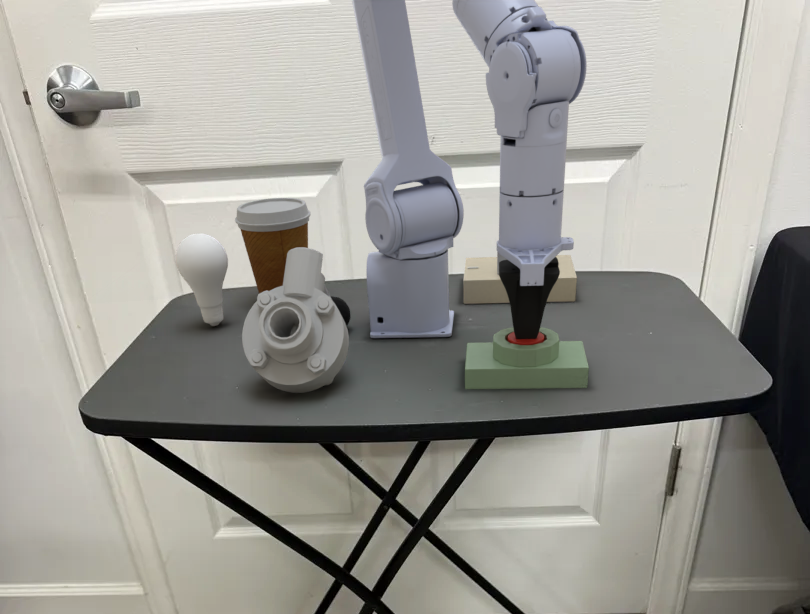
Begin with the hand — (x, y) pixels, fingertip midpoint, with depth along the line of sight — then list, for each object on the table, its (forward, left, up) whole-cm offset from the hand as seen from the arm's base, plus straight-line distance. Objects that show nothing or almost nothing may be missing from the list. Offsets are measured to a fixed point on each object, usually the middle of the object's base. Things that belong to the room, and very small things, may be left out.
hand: (526, 336), depth 77 cm
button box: (0, 0, -4) cm, 4 cm away
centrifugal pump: (-23, +5, -4) cm, 24 cm away
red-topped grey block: (-1, +28, -1) cm, 28 cm away
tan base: (0, +28, -4) cm, 28 cm away
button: (0, 0, -2) cm, 2 cm away
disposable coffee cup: (-31, +26, -4) cm, 40 cm away
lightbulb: (-38, +17, -4) cm, 42 cm away
